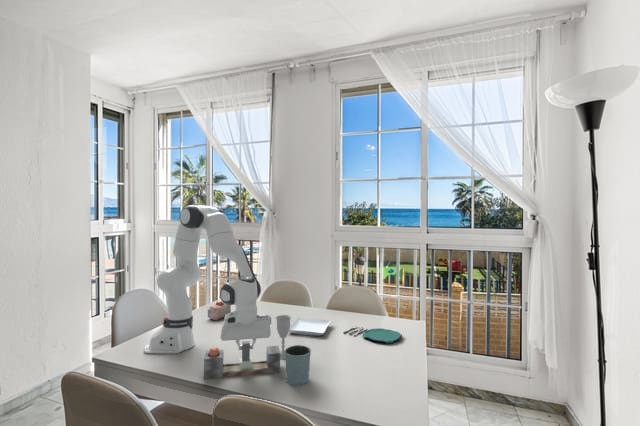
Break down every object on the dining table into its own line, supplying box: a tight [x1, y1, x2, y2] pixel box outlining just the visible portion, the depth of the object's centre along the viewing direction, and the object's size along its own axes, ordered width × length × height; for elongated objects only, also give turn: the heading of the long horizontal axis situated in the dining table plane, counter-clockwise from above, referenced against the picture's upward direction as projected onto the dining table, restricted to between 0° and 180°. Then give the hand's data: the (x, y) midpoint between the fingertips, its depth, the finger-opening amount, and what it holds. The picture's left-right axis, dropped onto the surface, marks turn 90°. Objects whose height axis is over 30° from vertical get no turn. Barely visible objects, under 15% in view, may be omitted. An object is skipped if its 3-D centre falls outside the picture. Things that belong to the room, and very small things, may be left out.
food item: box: [207, 301, 232, 321], centre depth 214 cm, size 14×8×10 cm, turn 151°
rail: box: [203, 345, 281, 380], centre depth 143 cm, size 30×8×8 cm, turn 103°
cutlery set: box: [343, 326, 403, 344], centre depth 187 cm, size 20×30×2 cm, turn 55°
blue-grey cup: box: [284, 344, 312, 386], centre depth 136 cm, size 10×10×12 cm
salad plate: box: [288, 317, 332, 337], centre depth 194 cm, size 21×21×3 cm
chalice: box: [275, 314, 292, 360], centre depth 157 cm, size 7×7×18 cm
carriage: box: [239, 340, 253, 370], centre depth 143 cm, size 5×5×10 cm
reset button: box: [208, 347, 220, 357], centre depth 140 cm, size 4×4×4 cm
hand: (245, 349), depth 143 cm, fingers closed on carriage, 3 cm apart
